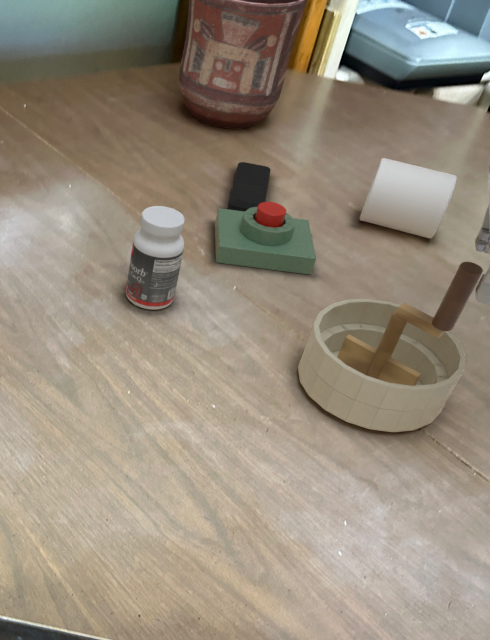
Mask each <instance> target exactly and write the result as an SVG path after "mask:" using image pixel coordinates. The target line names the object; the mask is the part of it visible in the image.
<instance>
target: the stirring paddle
mask: <svg viewBox="0 0 490 640" xmlns="http://www.w3.org/2000/svg"><path fill="white" fill-rule="evenodd" d="M483 272H484V270H483V267H482V266H481V265H479V264H478V263H475V262H472V261H462V262H461V263H460V264H459V266H458V267H457V270H456V271H455V275H454V276H453V278H452V280H451V282H450V284H449V286H448V288H447V291H446V292H445V294H444V296H443V298H442V299H441V301H440V304H439V306H438V308H437V310H436V312H435V314H434V315H433V316H432V315H430V314H427V313H426V312H424V311H422V310H420V309H418V308H416V307H414V306H412V305H410V304H408V303H407V302H403V303H402V304H399V305H400V306H399V307H398V309H397V311H395V312H393V314H392V316H391V318H390V320H389V323H388V325H387V327H386V329H385V332H384V334H383V336H382V338H381V340H380V343H379V345H378V347H377V349H375V348H373V347H372V346H370V345H368V344H366V343H364V342H362V341H361V340H359V339H357V338H355V337H353V336H352V335H350V334H349V335H348V336H346V337H345V339H344V342H343V344H342V347H341V349H340V352H339V354H338V357H337V358H339V359H340V360H341V361H342V362H343V363H345V364H346V365H347V366H349V367H351V368H353V369H355V370H357V371H359V372H361V373H363V374H365V375H366V376H370V377H373V378H376V379H379V380H382V381H385V382H389V383H395V384H402V385H410V386H416V384H417V382H418V380H419V378H420V376H421V374H420V373H419V372H417V371H415V370H413V369H411V368H410V367H408V366H406V365H404V364H402V363H401V362H399V361H397V360H395V359H393V358H391V355H392V353H393V351H394V349H395V347H396V345H397V343H398V340H399V338H400V336H401V334H402V332H403V330H404V328H405V326H406V323H407V322H408V323H410V324H412V325H414V326H416V327H418V328H420V329H422V330H423V331H425V332H427V333H429V334H431V335H433V336H435V337H437V338H439V337H441V336H442V335H443V334H444V333H445V331H450V332H451V331H453V330H454V327H455V325H456V324H457V322H458V319H459V318H460V316H461V314H462V312H463V310H464V308H465V307H466V305H467V303H468V300H469V299H470V297H471V295H472V293H473V291H474V290H475V288H476V286H477V285H478V283H479V281H480V279H481V277H482V275H483Z"/></svg>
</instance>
